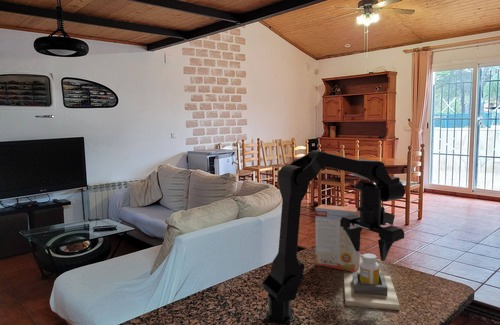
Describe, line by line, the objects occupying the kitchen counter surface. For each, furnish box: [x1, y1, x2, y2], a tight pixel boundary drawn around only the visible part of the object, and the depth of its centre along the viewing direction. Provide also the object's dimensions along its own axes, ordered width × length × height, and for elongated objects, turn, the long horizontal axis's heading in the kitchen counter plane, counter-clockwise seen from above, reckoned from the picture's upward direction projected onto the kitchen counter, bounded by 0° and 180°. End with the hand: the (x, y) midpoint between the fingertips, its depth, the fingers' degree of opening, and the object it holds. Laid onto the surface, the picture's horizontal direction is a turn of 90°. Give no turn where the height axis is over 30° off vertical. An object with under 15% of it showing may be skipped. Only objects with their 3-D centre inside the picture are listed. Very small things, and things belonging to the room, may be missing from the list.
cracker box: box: [314, 204, 361, 273], centre depth 128 cm, size 14×6×21 cm, turn 58°
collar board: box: [343, 271, 401, 311], centre depth 109 cm, size 18×14×4 cm
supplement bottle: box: [359, 252, 380, 285], centre depth 109 cm, size 5×5×10 cm
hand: (369, 255), depth 108 cm, fingers open, 9 cm apart
